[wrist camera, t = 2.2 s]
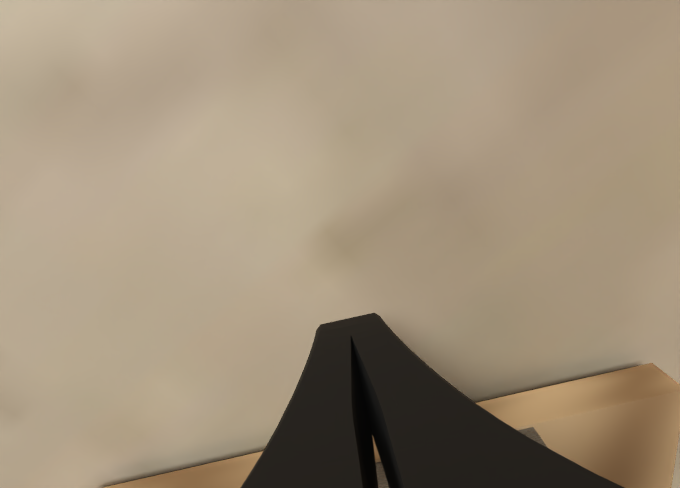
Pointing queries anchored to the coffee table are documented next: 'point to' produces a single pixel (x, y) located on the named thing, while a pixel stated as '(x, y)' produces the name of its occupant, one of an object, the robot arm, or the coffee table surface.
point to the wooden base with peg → (546, 430)
